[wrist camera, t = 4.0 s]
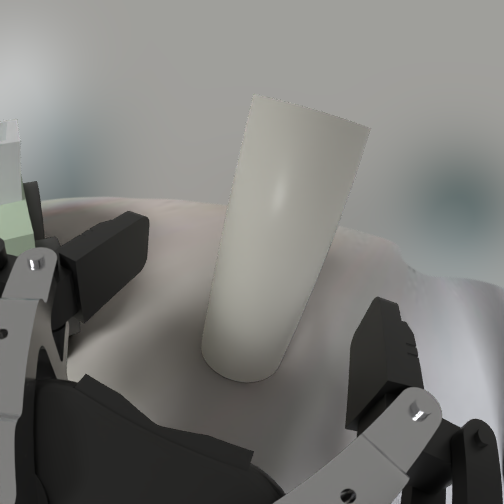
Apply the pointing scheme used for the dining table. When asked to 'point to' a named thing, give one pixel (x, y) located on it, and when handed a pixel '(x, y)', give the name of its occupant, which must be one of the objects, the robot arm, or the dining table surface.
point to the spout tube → (277, 232)
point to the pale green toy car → (21, 204)
